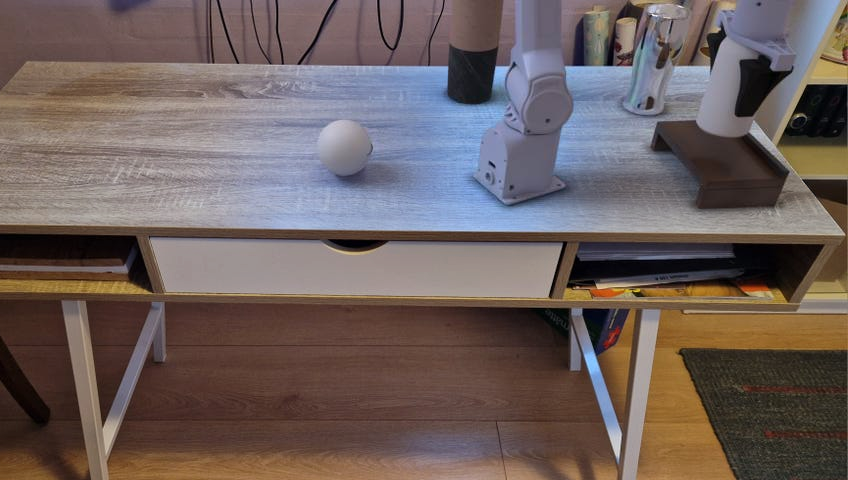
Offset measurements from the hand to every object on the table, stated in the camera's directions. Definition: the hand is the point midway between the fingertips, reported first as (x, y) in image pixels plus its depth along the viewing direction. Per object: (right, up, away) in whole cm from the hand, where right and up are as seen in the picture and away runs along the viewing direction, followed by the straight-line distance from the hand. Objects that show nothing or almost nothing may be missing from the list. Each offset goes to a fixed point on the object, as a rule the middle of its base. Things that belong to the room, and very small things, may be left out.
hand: (730, 103), depth 88 cm
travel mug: (-29, +8, +26) cm, 40 cm away
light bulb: (-49, -5, +5) cm, 49 cm away
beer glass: (-2, +5, +22) cm, 23 cm away
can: (0, -3, +2) cm, 4 cm away
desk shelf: (0, -8, +6) cm, 10 cm away
